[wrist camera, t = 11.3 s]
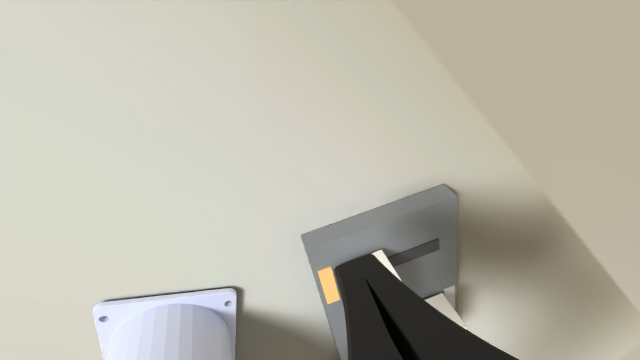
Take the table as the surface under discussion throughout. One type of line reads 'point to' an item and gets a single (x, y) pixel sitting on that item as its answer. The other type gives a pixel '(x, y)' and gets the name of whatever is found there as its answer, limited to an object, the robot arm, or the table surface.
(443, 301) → the tab
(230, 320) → the robot arm
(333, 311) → the switch panel
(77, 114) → the table surface
